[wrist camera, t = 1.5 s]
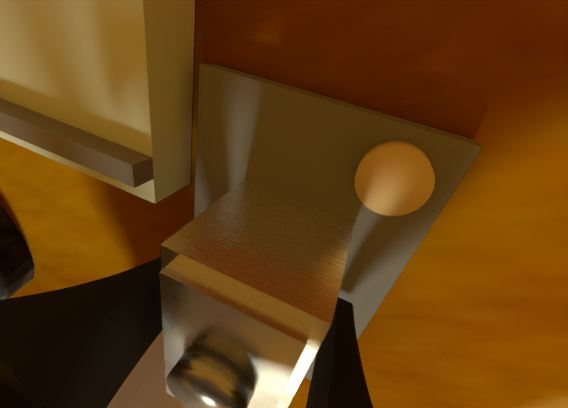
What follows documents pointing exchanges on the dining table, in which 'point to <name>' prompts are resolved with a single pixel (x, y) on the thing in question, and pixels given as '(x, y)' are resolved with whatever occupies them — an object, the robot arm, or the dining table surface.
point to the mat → (330, 169)
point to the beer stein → (13, 258)
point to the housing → (249, 297)
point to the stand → (102, 88)
